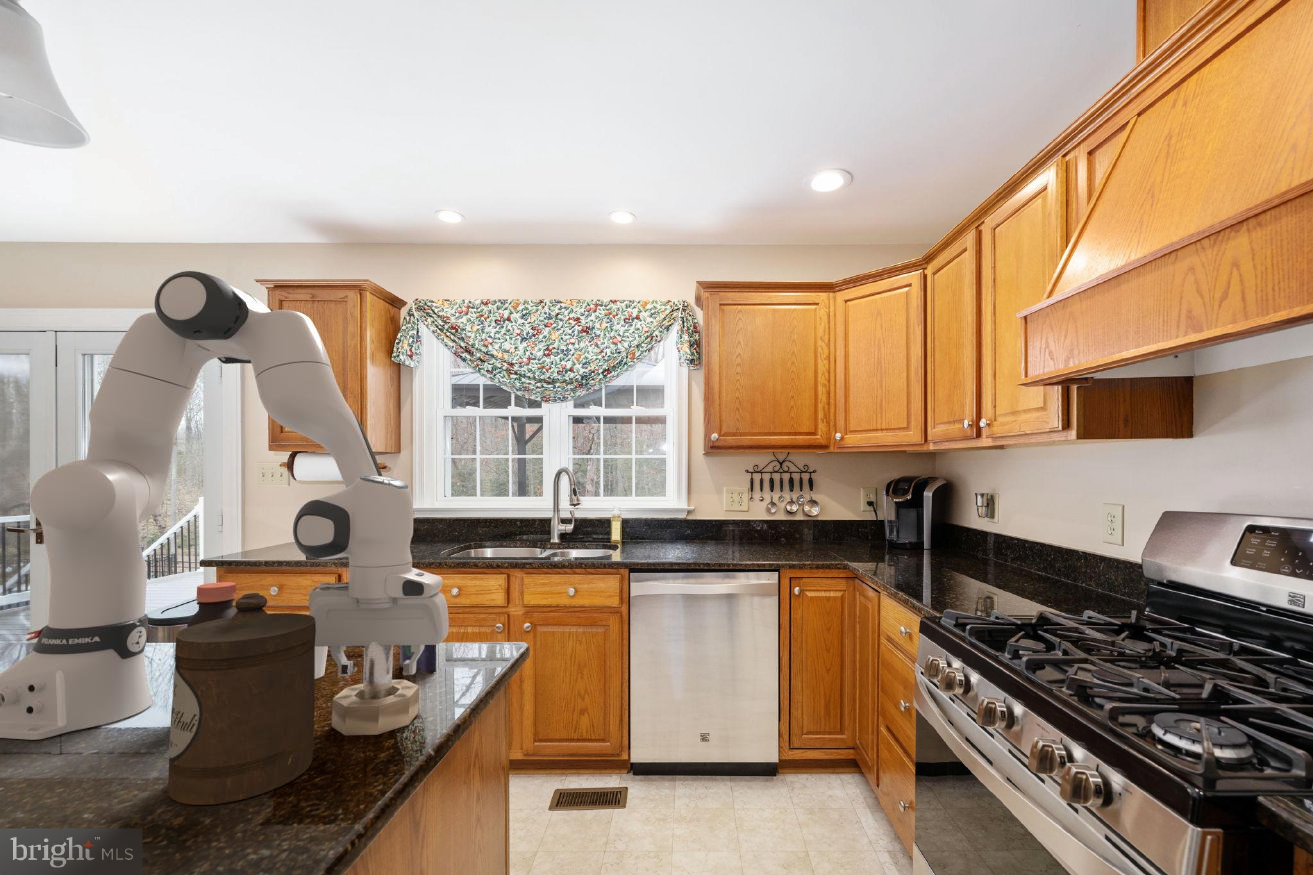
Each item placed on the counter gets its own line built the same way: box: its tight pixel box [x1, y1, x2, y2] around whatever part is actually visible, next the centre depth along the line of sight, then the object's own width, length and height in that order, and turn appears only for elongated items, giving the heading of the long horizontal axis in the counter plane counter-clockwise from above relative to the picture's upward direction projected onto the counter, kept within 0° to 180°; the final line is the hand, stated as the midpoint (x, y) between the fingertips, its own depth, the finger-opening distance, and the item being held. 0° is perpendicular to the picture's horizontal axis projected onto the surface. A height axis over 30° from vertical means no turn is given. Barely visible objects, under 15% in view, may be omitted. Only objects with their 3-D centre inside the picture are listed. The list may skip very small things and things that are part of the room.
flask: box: [399, 645, 437, 675], centre depth 116 cm, size 9×3×11 cm, turn 58°
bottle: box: [186, 581, 238, 628], centre depth 92 cm, size 7×7×20 cm
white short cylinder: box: [315, 646, 329, 680], centre depth 111 cm, size 7×7×7 cm
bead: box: [331, 679, 420, 736], centre depth 92 cm, size 11×11×4 cm
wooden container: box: [167, 592, 316, 806], centre depth 75 cm, size 15×15×22 cm
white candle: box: [362, 642, 394, 700], centre depth 92 cm, size 4×4×15 cm
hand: (377, 674), depth 92 cm, fingers open, 8 cm apart
